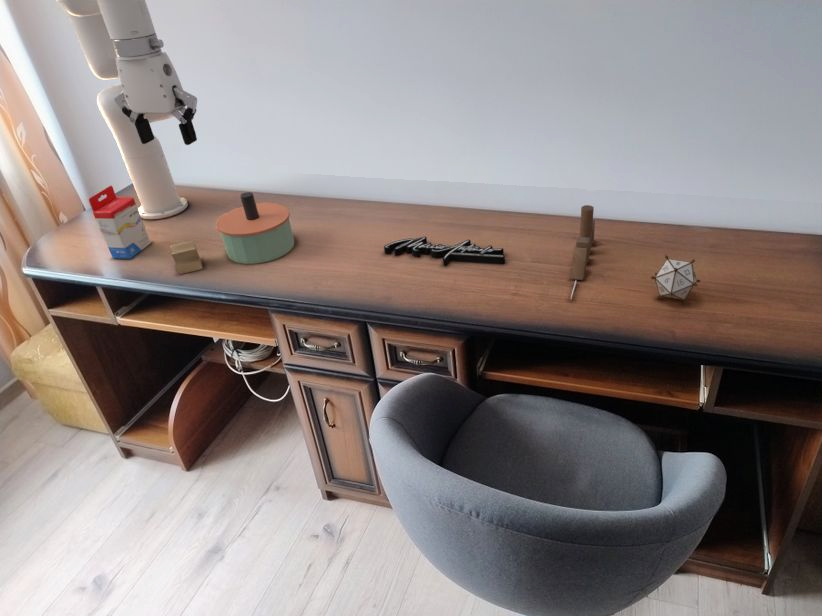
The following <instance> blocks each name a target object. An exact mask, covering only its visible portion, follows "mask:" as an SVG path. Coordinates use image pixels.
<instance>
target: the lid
mask: <svg viewBox="0 0 822 616" xmlns="http://www.w3.org/2000/svg"><path fill="white" fill-rule="evenodd" d="M239 197H240V201H241V204H242V206H240V207H239V206H238V207H236V208H233V209H231V210H229V211H227V212H225V213H223V214H222V215H221V216H220V217H219V218H218V219H217V220H216V222H215V228H216V229H217V231H218V232H219V233H220V232H221V233H222V234H225V235H229V236H251V235H257V234H261V233H265V232H268V231H271V230H273V229H275V228H277V227H279V226H281V225H282V224H284V223H285V222H286V221H287V220H288V219H289V220H290V217H291V213H290V210H289V208H288V207H286V206H285V205H283V204H280V203H274V202H260V203H259V202H258V203H256V199H255V196H254V193H253V192H251V191H249V192H248V191H247V192H242V193H241V194H240V195H239Z"/></svg>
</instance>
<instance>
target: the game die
mask: <svg viewBox="0 0 822 616" xmlns="http://www.w3.org/2000/svg"><path fill="white" fill-rule="evenodd" d="M664 258H665V261H664V262H663V264H662V265H661V267H660V269H659V270H658V271H657V272H655V273H654V276H653V275H652V276H651V277H650V279H651V280H654V282H655V284H656V287H657V291H658V294H659V295H657V298H656V299H657V300H660V298H661V297H662V298H663V297H664V298H669V299H675V300H681V301H682V302H683V304H685V305H687V297H688V296H689V294H690V293H691V291H692V289H693V288H694V287H698V286H699V284H698V283H701V280H700V279H697V276H696V272H695V269H694V262H696V258H692V260H691V261H686V260H680V259H675V258H669V256H668V254H665V255H664Z"/></svg>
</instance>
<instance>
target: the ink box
mask: <svg viewBox="0 0 822 616" xmlns="http://www.w3.org/2000/svg"><path fill="white" fill-rule="evenodd" d="M102 196H106V197H104V198H102ZM101 198H102V199H101ZM99 199H101V200H99ZM135 200H136V199H135V198H134V197H131V196H117V195H116V192H115V190H114V187H113V185H109V186H107V187H105V188H104V189H102V190H100V191H98V192H97V193H95V194H93V195H92V196H90V197H89V198H88V203H89V205H90V208H91V210H92V215H93V217H94V219H95V221H96V223H97V226H98V228H99V230H100V232H101V235H102V237H103V239H104V241H105V244H106V246H107V248H108V251H109V253H110V255H111V258H112V259H125V260H129V259H132V258H134V257H135V256H136V255H137V254H138V253H140V252H141V251H142V250H144V249H145V248H147V247H148V246H149V245H150V244H151V243H152V242H151V239H150V237H149V234H148V231H147V229H146V227H145V224H144V221H143V218H141V216H140V213H139V211H138V208H139V207H138V206H137V203H136V201H135Z"/></svg>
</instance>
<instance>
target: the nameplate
mask: <svg viewBox="0 0 822 616" xmlns="http://www.w3.org/2000/svg"><path fill="white" fill-rule="evenodd" d="M383 251H384V255H391V254H392V252H394V256H395V257H398V256H401V255H402V254H405V253H406V254H408V255H412V257H414V258H421V255H427V256H429V255H430V257H431V258H433V259H442V263H443V266H444V267H447V266H448V264H449V263H450V262H459V263H476V264H490V265H491V264H493V265H504V264H505V263H506V256H505V255H504V247H499V248H494V247H493V245H492V244H489V245H488V246H486V247H481V246H478V245H476V243H471V239H466V240H464V241H461V242H459V243H457V244H454V245H445V244H442V243H438V244H437V245H436V244H432V243H431V242H428V238H427V236H421V237H417V238H410V237H409V238H404V239H403V238H402V239H399V240H395V241H392V242H390V243H387V244H385V245H384V246H383Z"/></svg>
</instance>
